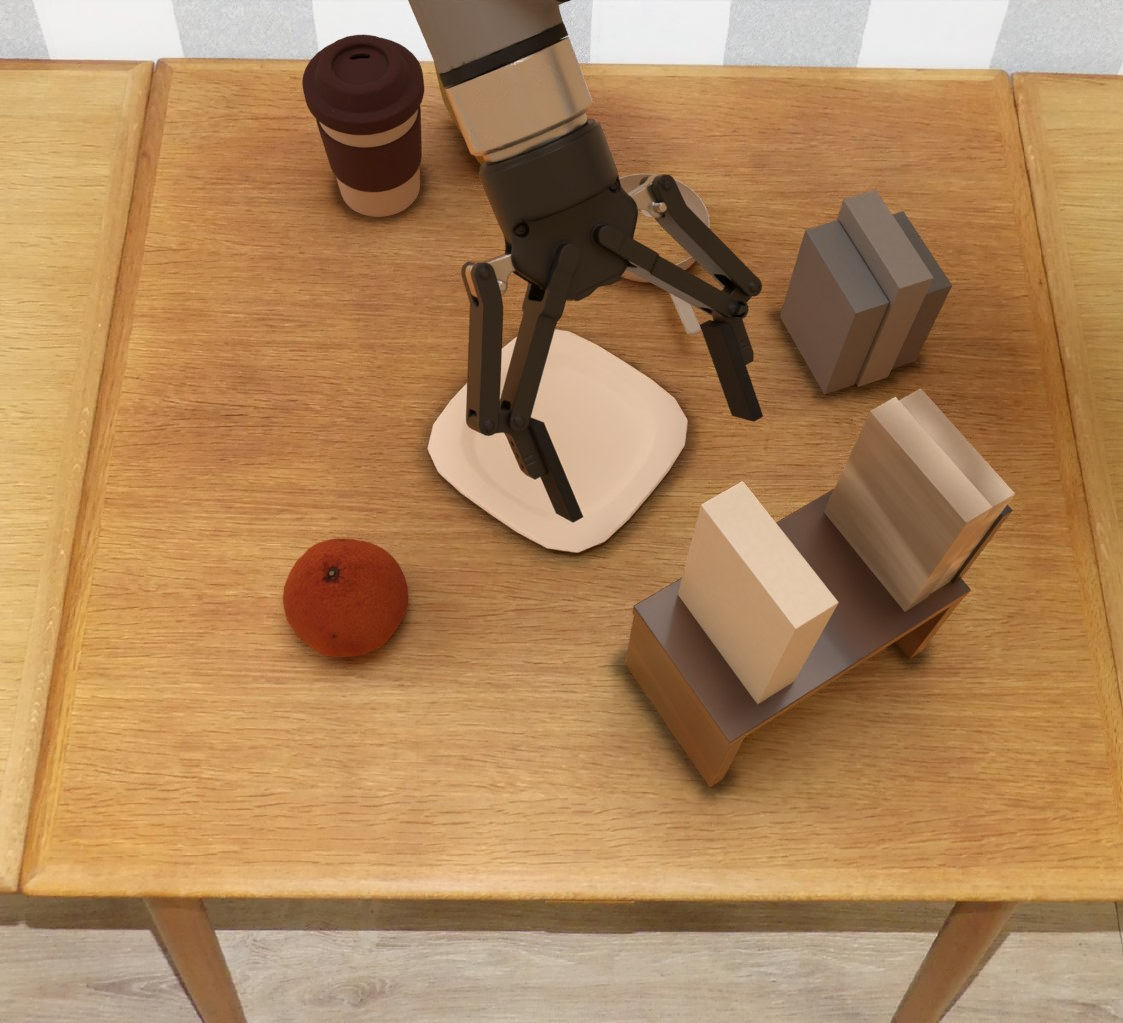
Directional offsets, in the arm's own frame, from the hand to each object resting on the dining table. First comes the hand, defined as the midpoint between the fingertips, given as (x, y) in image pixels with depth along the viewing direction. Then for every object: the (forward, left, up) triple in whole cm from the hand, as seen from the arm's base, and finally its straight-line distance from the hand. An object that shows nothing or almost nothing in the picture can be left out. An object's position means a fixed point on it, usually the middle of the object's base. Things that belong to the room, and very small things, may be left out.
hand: (660, 465), depth 77 cm
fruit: (+21, +5, -20) cm, 30 cm away
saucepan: (0, -30, -20) cm, 36 cm away
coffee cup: (+26, -37, -20) cm, 50 cm away
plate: (+7, -12, -20) cm, 25 cm away
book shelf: (-11, +5, -20) cm, 23 cm away
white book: (-6, +8, -8) cm, 13 cm away
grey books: (-16, -25, -20) cm, 36 cm away
